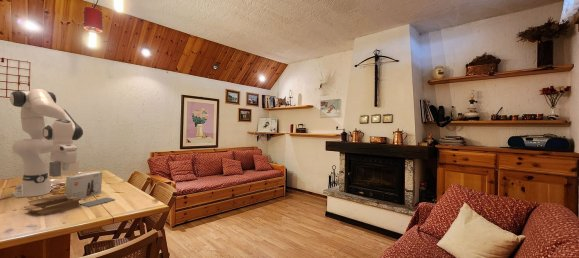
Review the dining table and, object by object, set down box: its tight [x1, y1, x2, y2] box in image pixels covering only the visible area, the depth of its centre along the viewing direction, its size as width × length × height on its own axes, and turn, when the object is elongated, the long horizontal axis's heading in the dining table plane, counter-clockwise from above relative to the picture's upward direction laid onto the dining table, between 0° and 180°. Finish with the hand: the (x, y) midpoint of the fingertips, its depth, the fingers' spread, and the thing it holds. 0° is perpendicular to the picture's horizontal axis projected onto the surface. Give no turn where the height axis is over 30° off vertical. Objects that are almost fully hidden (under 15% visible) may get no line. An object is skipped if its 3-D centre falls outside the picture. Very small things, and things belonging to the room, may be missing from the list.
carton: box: [23, 193, 85, 216], centre depth 147 cm, size 19×23×5 cm
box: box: [48, 159, 80, 178], centre depth 149 cm, size 5×12×8 cm, turn 158°
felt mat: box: [79, 197, 116, 208], centre depth 160 cm, size 9×16×1 cm, turn 158°
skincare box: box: [65, 171, 103, 199], centre depth 170 cm, size 21×5×16 cm, turn 168°
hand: (62, 169), depth 148 cm, fingers closed on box, 5 cm apart
